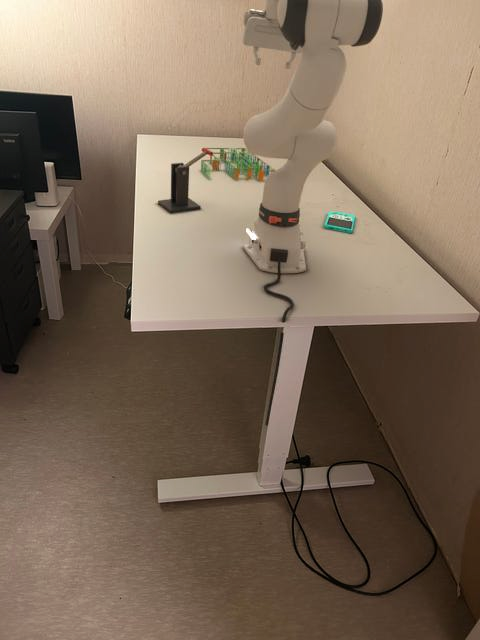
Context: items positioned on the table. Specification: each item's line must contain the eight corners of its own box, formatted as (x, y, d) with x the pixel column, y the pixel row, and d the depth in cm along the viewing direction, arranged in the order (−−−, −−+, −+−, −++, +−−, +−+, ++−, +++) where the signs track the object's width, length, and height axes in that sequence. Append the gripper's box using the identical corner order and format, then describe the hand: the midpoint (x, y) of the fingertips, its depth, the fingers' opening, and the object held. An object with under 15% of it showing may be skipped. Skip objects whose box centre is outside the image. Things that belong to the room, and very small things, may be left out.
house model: (275, 180, 204) (276, 169, 201) (212, 182, 194) (212, 170, 191) (245, 158, 230) (246, 148, 228) (188, 158, 220) (188, 147, 217)
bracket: (187, 199, 173) (188, 159, 165) (200, 209, 167) (202, 168, 159) (157, 203, 167) (157, 162, 159) (170, 213, 161) (171, 170, 152)
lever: (206, 151, 165) (203, 145, 163) (214, 155, 161) (211, 149, 160) (174, 173, 162) (171, 167, 160) (182, 177, 159) (179, 172, 157)
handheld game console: (355, 218, 175) (356, 214, 174) (352, 233, 162) (353, 230, 161) (328, 213, 176) (329, 209, 176) (323, 228, 163) (324, 224, 162)
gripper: (246, 7, 131) (240, 63, 138) (315, 18, 135) (306, 71, 142) (243, 8, 136) (237, 61, 144) (309, 18, 140) (301, 70, 147)
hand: (272, 66), depth 143 cm, fingers open, 8 cm apart
